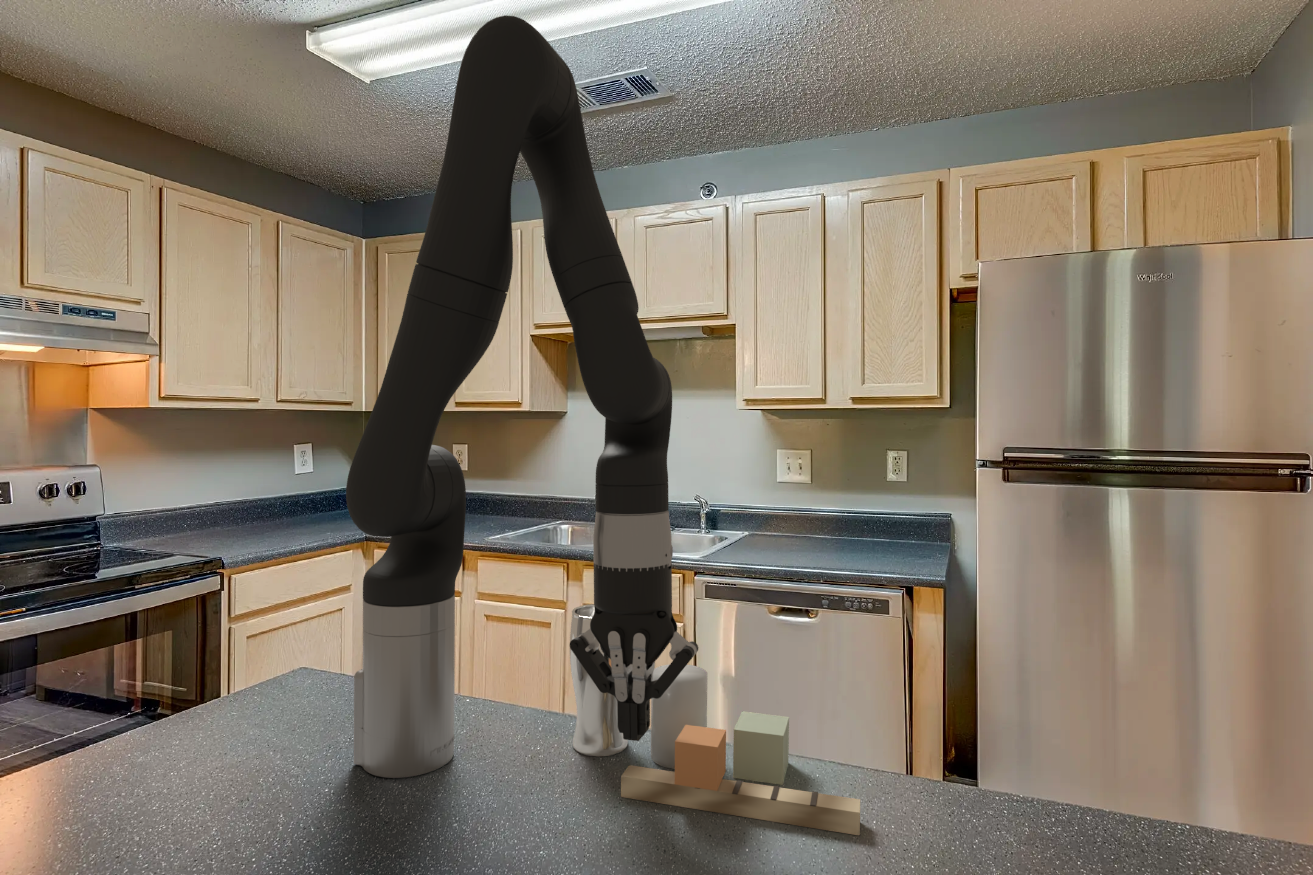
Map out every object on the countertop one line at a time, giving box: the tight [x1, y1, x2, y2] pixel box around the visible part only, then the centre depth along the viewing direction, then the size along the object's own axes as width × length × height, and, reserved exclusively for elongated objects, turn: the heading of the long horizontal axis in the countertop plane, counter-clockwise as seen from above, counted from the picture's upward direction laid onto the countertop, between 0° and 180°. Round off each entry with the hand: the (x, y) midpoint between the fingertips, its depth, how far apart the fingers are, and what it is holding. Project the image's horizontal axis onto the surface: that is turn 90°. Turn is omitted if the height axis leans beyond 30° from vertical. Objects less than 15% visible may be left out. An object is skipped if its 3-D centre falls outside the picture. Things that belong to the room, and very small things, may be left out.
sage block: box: [732, 710, 790, 786], centre depth 76 cm, size 5×5×5 cm
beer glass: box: [569, 603, 629, 758], centre depth 82 cm, size 7×7×15 cm
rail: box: [620, 764, 861, 836], centre depth 69 cm, size 22×2×2 cm, turn 73°
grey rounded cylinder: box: [650, 663, 708, 770], centre depth 79 cm, size 6×6×9 cm
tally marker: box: [674, 725, 727, 791], centre depth 69 cm, size 4×4×4 cm
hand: (634, 736), depth 71 cm, fingers closed
